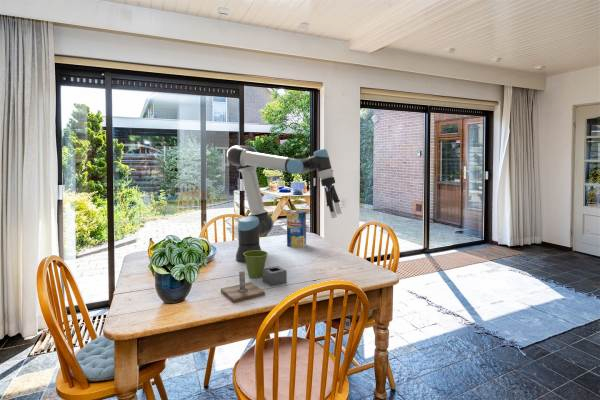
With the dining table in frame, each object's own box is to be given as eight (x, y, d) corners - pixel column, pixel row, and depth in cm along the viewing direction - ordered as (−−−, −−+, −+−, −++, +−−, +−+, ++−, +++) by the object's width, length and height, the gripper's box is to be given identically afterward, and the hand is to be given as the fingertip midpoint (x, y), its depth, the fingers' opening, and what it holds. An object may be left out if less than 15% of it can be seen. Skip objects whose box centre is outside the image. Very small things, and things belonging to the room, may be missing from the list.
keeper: (220, 291, 155) (220, 270, 154) (250, 285, 163) (249, 264, 161) (234, 302, 143) (233, 280, 142) (265, 295, 151) (264, 273, 150)
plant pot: (264, 280, 169) (264, 257, 167) (240, 279, 171) (239, 256, 169) (270, 272, 180) (270, 250, 179) (248, 271, 182) (247, 249, 181)
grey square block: (263, 281, 167) (262, 268, 167) (277, 278, 172) (277, 265, 171) (271, 286, 161) (271, 273, 160) (286, 282, 165) (286, 270, 164)
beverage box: (290, 243, 237) (290, 210, 234) (306, 244, 234) (306, 211, 231) (286, 246, 231) (286, 212, 228) (303, 247, 227) (303, 213, 225)
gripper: (328, 177, 181) (339, 217, 182) (338, 175, 205) (347, 211, 206) (314, 180, 184) (325, 220, 184) (325, 178, 207) (335, 214, 208)
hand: (336, 215), depth 195 cm, fingers open, 13 cm apart
